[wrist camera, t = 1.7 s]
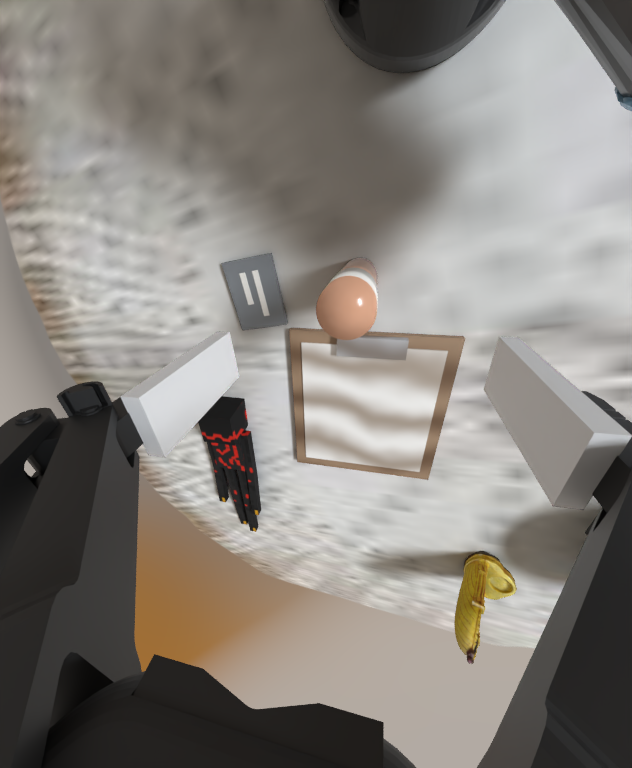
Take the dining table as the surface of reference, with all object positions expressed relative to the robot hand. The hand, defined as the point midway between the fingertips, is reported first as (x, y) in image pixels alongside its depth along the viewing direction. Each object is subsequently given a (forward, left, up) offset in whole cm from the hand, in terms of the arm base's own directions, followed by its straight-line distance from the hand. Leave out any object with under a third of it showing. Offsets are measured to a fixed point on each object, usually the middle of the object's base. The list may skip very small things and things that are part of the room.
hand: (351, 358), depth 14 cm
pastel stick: (-1, -1, -19) cm, 19 cm away
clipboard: (+16, +1, -19) cm, 25 cm away
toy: (+31, -20, -20) cm, 42 cm away
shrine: (+46, +22, -19) cm, 55 cm away
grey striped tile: (+1, -13, -19) cm, 23 cm away
